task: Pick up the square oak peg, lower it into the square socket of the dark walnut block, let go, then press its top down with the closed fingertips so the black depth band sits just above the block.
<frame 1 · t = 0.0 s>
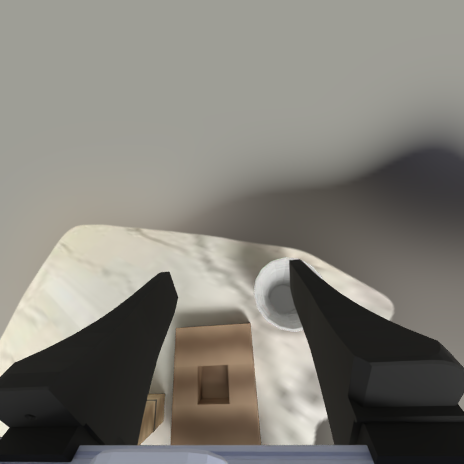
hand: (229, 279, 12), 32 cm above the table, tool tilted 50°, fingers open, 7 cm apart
oak peg: (153, 407, 37), on the table
plastic cup: (282, 299, 42), on the table
walnut socket block: (217, 378, 38), on the table
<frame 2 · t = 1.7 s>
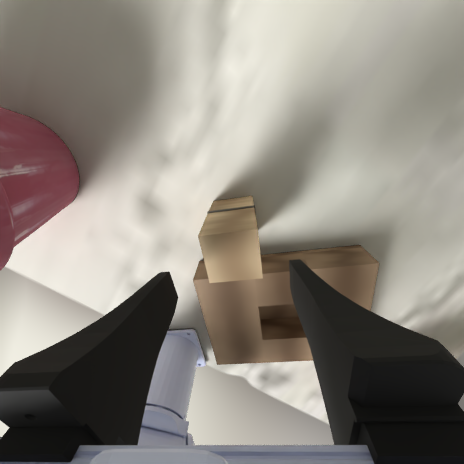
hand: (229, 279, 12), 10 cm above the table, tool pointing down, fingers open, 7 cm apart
plant pot: (35, 164, 20), on the table
oak peg: (235, 216, 22), on the table
walnut socket block: (279, 299, 26), on the table
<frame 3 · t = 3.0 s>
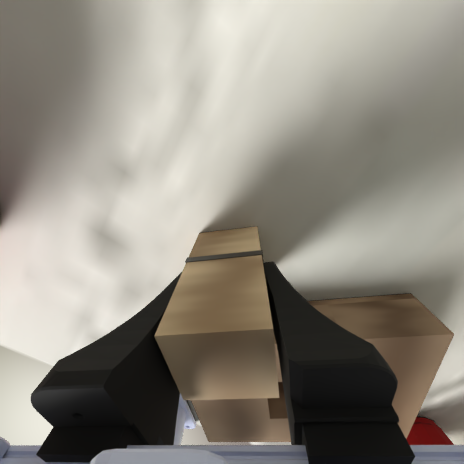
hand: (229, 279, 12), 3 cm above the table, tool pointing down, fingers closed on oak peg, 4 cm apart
oak peg: (232, 254, 15), on the table, touching gripper
plastic cup: (406, 425, 24), on the table
walnut socket block: (292, 357, 19), on the table
when the fingers open (4 cm above the table, at t = 6.9 s): oak peg stays where it is, resting on walnut socket block.
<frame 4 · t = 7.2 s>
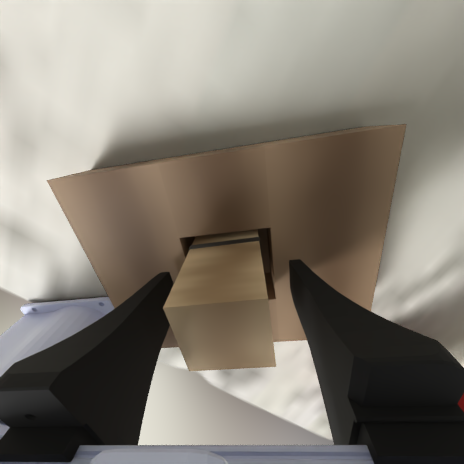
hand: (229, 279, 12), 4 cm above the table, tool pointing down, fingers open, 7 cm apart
oak peg: (232, 244, 16), resting on walnut socket block
walnut socket block: (233, 243, 16), on the table
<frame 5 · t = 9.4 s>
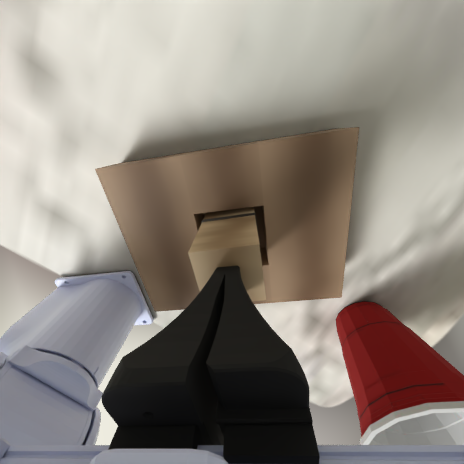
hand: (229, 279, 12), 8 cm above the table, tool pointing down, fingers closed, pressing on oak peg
oak peg: (234, 223, 19), resting on walnut socket block, touching gripper
plastic cup: (358, 316, 25), on the table
walnut socket block: (234, 223, 20), on the table
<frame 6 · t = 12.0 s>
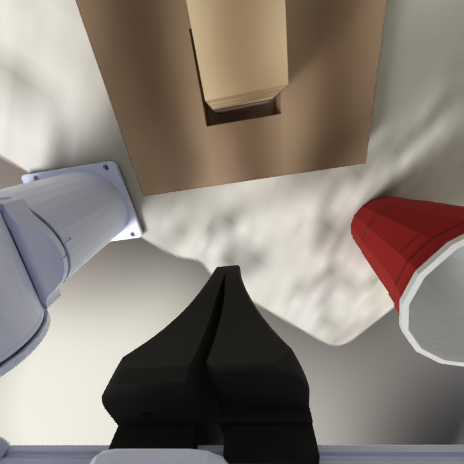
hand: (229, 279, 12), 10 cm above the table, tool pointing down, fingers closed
oak peg: (237, 80, 16), resting on walnut socket block
plastic cup: (375, 220, 22), on the table
walnut socket block: (237, 85, 17), on the table
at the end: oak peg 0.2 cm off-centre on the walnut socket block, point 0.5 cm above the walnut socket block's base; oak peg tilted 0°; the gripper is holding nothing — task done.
